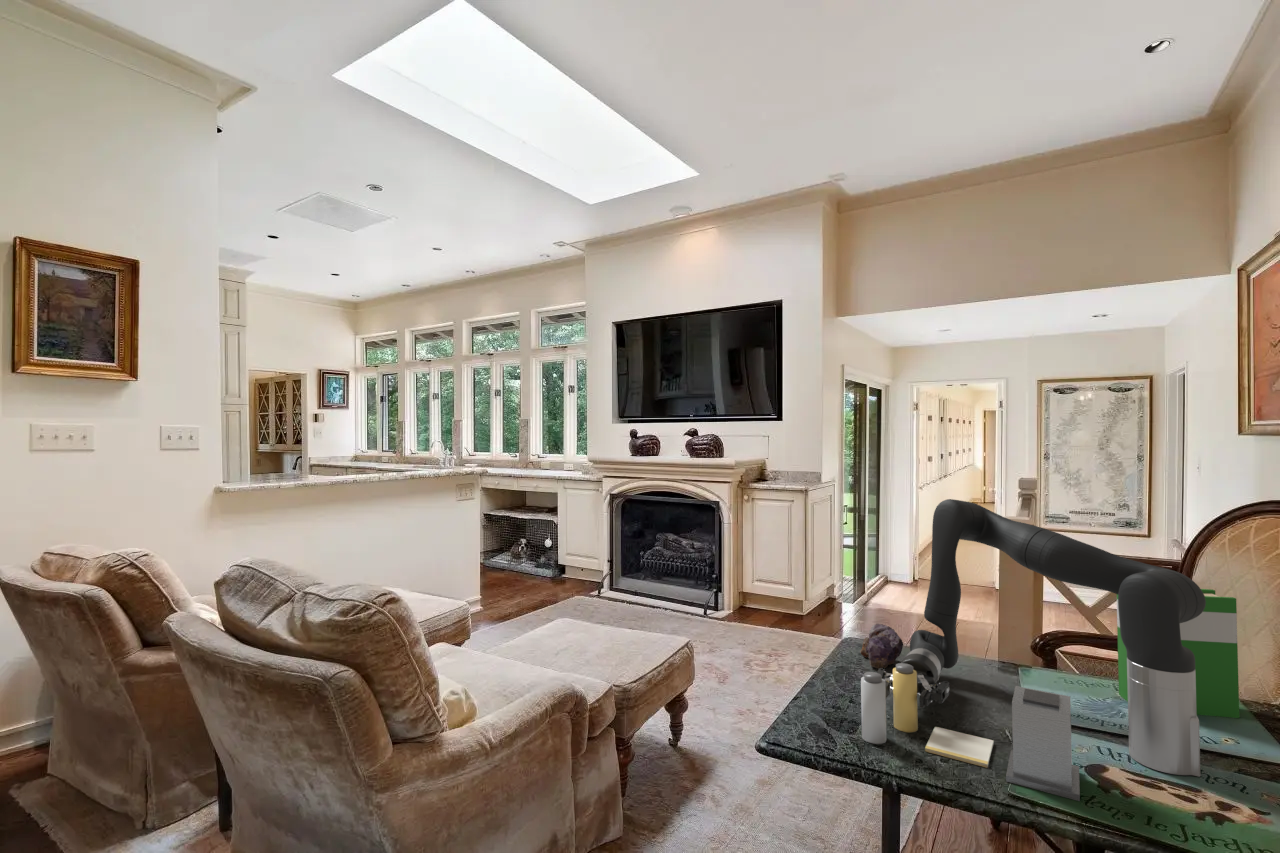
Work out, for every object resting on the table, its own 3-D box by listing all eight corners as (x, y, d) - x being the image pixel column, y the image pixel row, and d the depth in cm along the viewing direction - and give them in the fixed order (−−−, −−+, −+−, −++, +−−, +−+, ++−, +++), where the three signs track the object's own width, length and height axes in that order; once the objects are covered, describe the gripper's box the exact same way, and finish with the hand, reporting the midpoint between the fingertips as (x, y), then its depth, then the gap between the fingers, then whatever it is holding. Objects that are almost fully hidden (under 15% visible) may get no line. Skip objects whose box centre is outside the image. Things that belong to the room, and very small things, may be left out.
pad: (993, 743, 115) (993, 740, 115) (987, 767, 107) (987, 764, 107) (935, 729, 121) (935, 726, 121) (925, 751, 112) (925, 747, 112)
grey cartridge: (889, 736, 118) (887, 673, 118) (883, 746, 115) (882, 681, 115) (865, 730, 121) (864, 669, 121) (859, 739, 117) (857, 676, 117)
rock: (863, 673, 152) (907, 676, 150) (862, 641, 151) (906, 642, 149) (859, 650, 164) (899, 651, 161) (858, 619, 162) (898, 620, 160)
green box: (1215, 702, 131) (1212, 589, 131) (1239, 718, 124) (1236, 598, 124) (1118, 694, 135) (1116, 585, 136) (1136, 709, 128) (1133, 593, 128)
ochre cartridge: (919, 725, 122) (918, 664, 123) (915, 734, 119) (914, 672, 119) (896, 719, 125) (895, 660, 125) (891, 728, 121) (890, 667, 121)
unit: (1079, 772, 105) (1077, 693, 105) (1079, 801, 97) (1077, 715, 97) (1010, 755, 111) (1009, 680, 111) (1006, 781, 103) (1004, 700, 103)
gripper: (884, 647, 138) (864, 671, 124) (956, 659, 130) (942, 687, 116) (885, 680, 138) (864, 708, 124) (956, 695, 129) (943, 727, 116)
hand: (902, 698), depth 120 cm, fingers open, 6 cm apart
